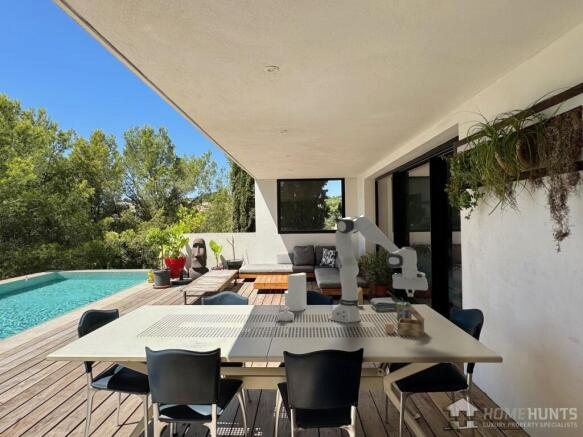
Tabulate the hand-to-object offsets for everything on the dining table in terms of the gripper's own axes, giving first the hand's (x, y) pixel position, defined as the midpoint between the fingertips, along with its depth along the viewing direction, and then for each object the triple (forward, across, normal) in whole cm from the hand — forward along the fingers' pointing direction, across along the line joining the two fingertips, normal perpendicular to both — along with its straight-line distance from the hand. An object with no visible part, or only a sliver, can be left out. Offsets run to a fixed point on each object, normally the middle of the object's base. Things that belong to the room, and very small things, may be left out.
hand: (410, 296), depth 207 cm
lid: (+15, +7, 0) cm, 16 cm away
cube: (+22, -12, -3) cm, 25 cm away
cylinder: (+22, -91, +27) cm, 97 cm away
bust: (+22, -82, -8) cm, 85 cm away
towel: (+22, -27, +55) cm, 65 cm away
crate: (+22, 0, 0) cm, 22 cm away
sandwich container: (+22, -52, +54) cm, 78 cm away
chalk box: (+22, -8, +28) cm, 37 cm away
